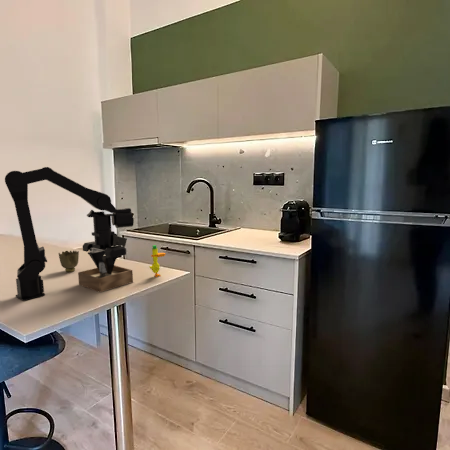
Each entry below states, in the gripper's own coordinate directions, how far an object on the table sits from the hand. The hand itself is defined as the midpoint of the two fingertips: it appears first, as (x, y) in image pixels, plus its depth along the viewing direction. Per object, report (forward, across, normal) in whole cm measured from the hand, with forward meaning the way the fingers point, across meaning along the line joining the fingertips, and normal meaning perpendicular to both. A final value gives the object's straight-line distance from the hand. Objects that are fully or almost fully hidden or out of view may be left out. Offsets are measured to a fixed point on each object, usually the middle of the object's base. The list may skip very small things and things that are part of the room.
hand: (105, 272), depth 117 cm
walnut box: (+4, 0, 0) cm, 4 cm away
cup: (+4, +26, 0) cm, 26 cm away
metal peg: (+4, 0, 0) cm, 4 cm away
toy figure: (+4, -8, -17) cm, 19 cm away
